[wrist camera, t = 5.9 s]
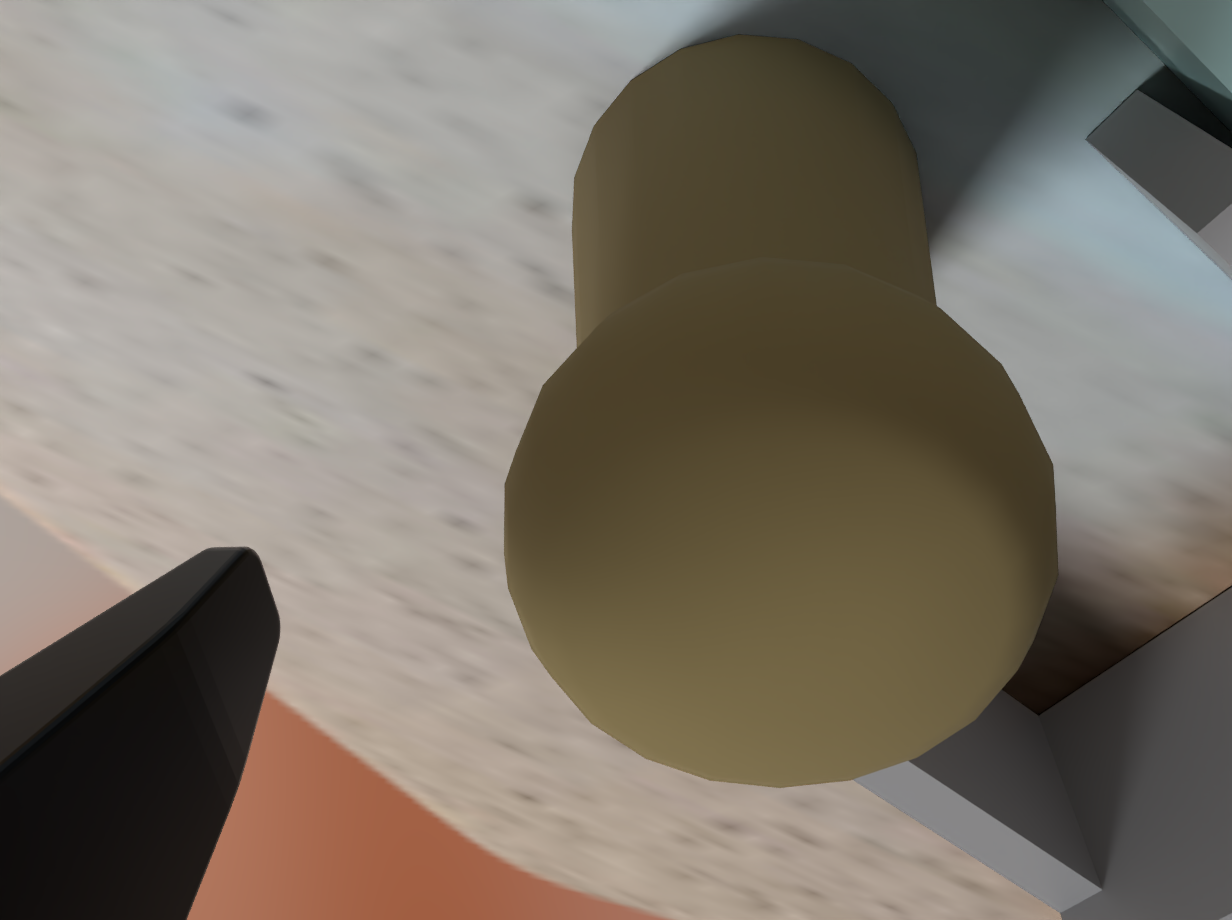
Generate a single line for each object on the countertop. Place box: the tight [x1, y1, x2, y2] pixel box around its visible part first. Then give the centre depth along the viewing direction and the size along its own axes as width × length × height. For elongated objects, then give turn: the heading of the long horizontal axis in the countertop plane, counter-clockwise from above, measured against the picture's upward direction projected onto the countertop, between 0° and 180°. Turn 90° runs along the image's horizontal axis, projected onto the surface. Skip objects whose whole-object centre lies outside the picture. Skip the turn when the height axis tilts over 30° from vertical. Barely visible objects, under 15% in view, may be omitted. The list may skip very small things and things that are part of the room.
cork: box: [504, 34, 1058, 788], centre depth 13 cm, size 6×6×11 cm
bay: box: [853, 90, 1232, 920], centre depth 18 cm, size 12×11×6 cm
